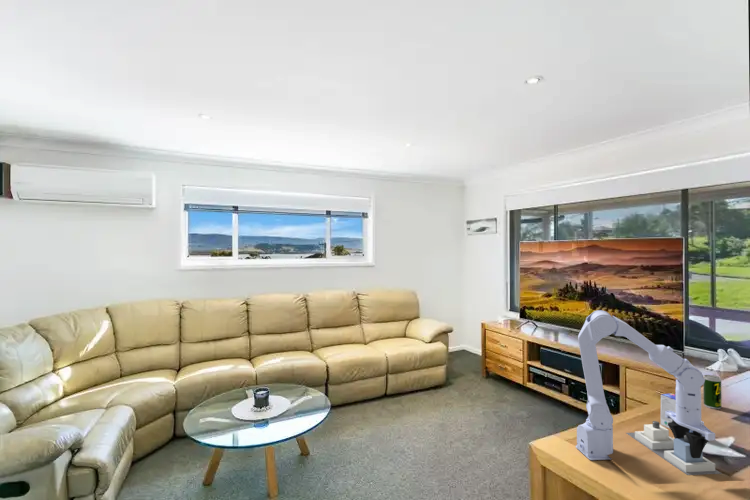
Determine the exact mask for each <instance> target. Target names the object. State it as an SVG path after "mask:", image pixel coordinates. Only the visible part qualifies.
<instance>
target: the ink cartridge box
mask: <svg viewBox="0 0 750 500" xmlns="http://www.w3.org/2000/svg"><path fill="white" fill-rule="evenodd" d="M665 411H673V412H675V413H676V393H671V392H670V393H669V392H668V393H663V394H660V425H661V426H663V427H665V428H666V429H667V428H668V429H670V427H669V426H668V423H669V422H672V419H670V418H666V417H665ZM689 432H692V433H693V431H692V430H689Z"/></svg>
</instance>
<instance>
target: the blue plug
mask: <svg viewBox="0 0 750 500" xmlns="http://www.w3.org/2000/svg"><path fill="white" fill-rule="evenodd" d="M673 439H674V455H675V456H676V457H678V458H680V459H681V460H683V461H684V462H686V463H696V462H703V457H704V456H703V451H704V450H703V451H702V454H701V457H700V458H692V457H691V453H690V444H689V440H688V438H687V435H684V438H676V439H675V438H673Z"/></svg>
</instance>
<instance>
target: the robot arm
mask: <svg viewBox="0 0 750 500" xmlns="http://www.w3.org/2000/svg"><path fill="white" fill-rule="evenodd" d="M610 335H614V336H615V337H624V338H627V339H628V340H629V341H630V342H632V343H633V344H634V345H637V346H638V347H639V348H640V349H643V351H645V352H647V353H648V358H649V360H650V361H651V362H653V363H654V364H656V365H657V366H658V367H660V368H661V369H663V371H665V372H666V373H668V374H669V375H673V377H674V379H675V394H676V413H675V412H673V411H665V417H666V418H670V419H672V422H669V423H668V426H669V427H670V428H669V429H670V430H671V433H672V435H673V437H674V438H673V439H676V438H684V435H687V438H688V440H689V444H690V453H691V457H692V458H700V457H701V454H702V451H704V449H705V446H706V445H707V444H708V443H709V441H716V433H715V432H714V431H712V430H710V429H709V428H708V427H707V426H706V425H705V422H704V421H702V389H701V388H702V387H703V384H704V382H705V379H704V375H703V373H702V372H701V371H700V369H698V368H697V367H696V366H694V365H693V364H692V363H691V362H690V360H689V359H687V358H683V357H681V356H680V355H679V354H677V353H676V352H674V348H672V347H671V346H669V345H668V346H666V345H664V344H655V343H654V342H652V341H651V340H649V338H647V337H645V336H644V335H643V334H642V333H641V332H639V331H638V330H636V329H635V328H633V327H632V326H630V325H629V324H628V323H627V322H625V321H624V320H622V319H620V318H618V317H616V316H615V315H611V314H610V313H609V312H608V311H606V310H602V309H598V310H594V311H593V312H591V313H590V314H589V315H587V316H586V318H585V321H584V323H583V325H582V327H581V328H580V331H579V333H578V336H577V340H578V341H577V342H578V346H579V353H580V357H581V364H582V370H583V375H584V381H585V386H586V387H585V388H586V391H587V392H586V393H587V402H586V406H585V407H586V411H587V415H588V416H587V417H586V419H585V422H583V423H582V424H578V426H577V427H576V445H575V448H576V449H577V450H578V451H580V453H582V455H583V456H585V458H587V459H588V460H590V461H597V460H598V461H602V460H603V461H604V460H605V461H606V460H607V461H608V460H613V458H612V457H610V456H609V455H612V454H614V429H613V428H614V425H613V423H614V417H613V415H612V414H611V411H610V408H609V406H608V403H607V400H606V396H605V392H604V387H603V379H602V374H601V369H600V363H599V357H598V353H597V346H596V345H597V344H598V343H599V342H600V341H601V340H602V339H603V338H606V337H608V336H610ZM689 430H692V431H693V433H692V432H689Z"/></svg>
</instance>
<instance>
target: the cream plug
mask: <svg viewBox="0 0 750 500" xmlns="http://www.w3.org/2000/svg"><path fill="white" fill-rule="evenodd" d="M643 431H644V436H646V437H647V438H649V439H650V440H652V441H669V435H670V432H669V431H670V430H669V428H668V429H667V427H665V426H663V425H661V422H659V421H657V420H653V421H652V423H650V424H643Z"/></svg>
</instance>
